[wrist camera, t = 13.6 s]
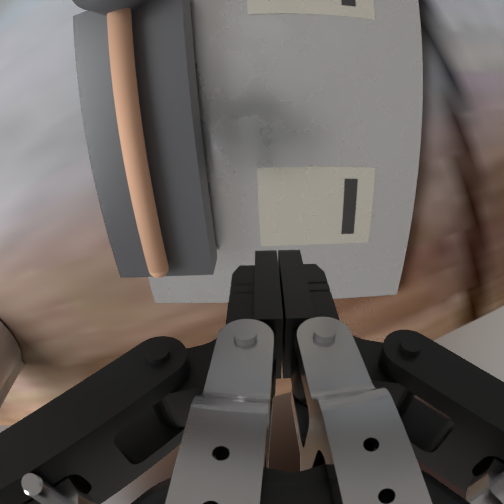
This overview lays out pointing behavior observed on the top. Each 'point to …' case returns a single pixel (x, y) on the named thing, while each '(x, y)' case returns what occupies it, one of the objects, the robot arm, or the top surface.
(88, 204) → the top surface
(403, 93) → the panel
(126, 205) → the cable arm
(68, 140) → the top surface
